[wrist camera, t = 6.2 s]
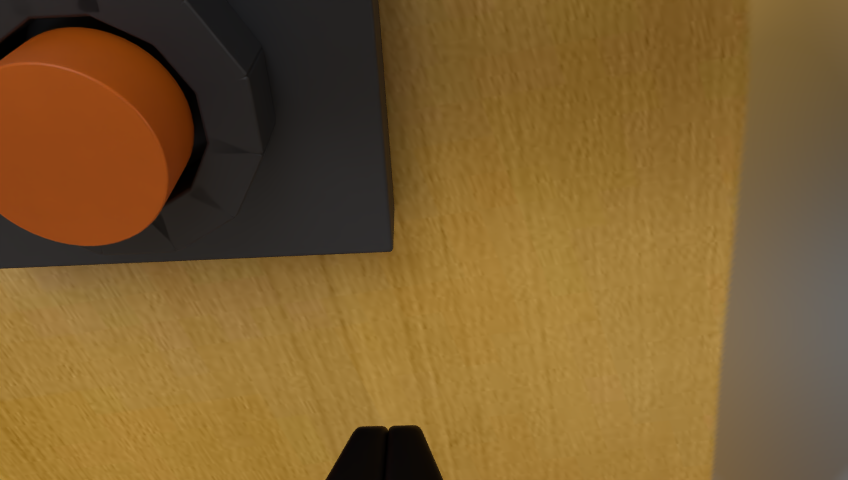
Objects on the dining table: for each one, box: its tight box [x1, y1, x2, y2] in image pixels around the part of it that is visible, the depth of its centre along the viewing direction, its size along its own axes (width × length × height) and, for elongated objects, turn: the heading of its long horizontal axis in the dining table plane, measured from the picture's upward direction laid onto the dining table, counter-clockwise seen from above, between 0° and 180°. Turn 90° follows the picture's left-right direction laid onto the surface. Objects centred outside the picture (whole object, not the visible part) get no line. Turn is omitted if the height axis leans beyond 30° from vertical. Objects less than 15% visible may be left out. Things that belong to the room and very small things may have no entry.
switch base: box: [0, 0, 394, 269], centre depth 16 cm, size 12×10×4 cm
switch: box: [0, 27, 194, 246], centre depth 14 cm, size 4×4×2 cm
